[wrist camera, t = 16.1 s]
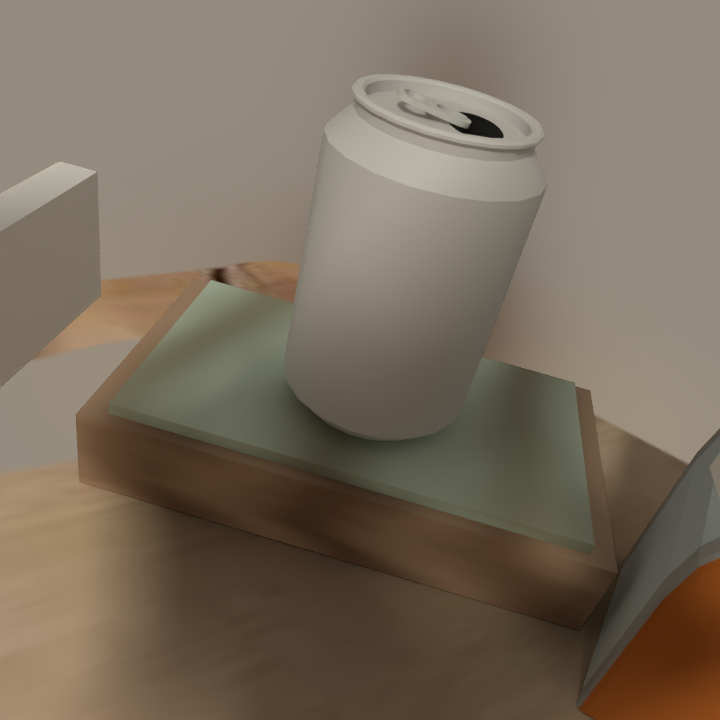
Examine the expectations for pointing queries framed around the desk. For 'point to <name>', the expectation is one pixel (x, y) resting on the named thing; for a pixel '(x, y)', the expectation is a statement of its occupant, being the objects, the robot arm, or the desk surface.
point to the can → (409, 253)
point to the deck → (358, 463)
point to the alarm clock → (665, 613)
